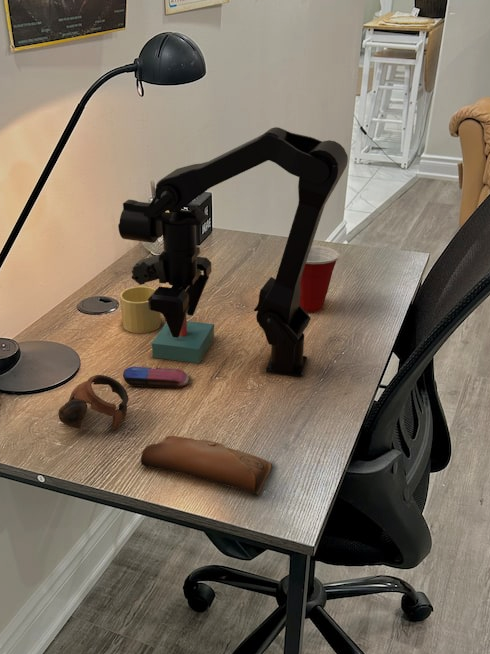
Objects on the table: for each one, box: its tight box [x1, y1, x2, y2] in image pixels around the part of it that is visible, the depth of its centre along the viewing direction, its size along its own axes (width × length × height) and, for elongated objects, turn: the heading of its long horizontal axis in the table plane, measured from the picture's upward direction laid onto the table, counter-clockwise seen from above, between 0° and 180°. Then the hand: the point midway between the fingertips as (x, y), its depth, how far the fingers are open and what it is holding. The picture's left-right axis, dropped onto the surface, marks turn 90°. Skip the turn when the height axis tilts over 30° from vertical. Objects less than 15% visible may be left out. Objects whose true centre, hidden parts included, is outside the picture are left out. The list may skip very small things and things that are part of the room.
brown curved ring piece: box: [57, 374, 129, 430], centre depth 114 cm, size 12×10×8 cm
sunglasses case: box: [140, 435, 273, 495], centre depth 105 cm, size 18×7×7 cm
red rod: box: [180, 316, 188, 336], centre depth 133 cm, size 1×1×9 cm
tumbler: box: [119, 285, 162, 334], centre depth 142 cm, size 8×8×6 cm
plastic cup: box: [299, 245, 341, 313], centre depth 146 cm, size 11×11×12 cm
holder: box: [151, 320, 215, 364], centre depth 135 cm, size 10×9×3 cm
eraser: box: [122, 366, 190, 389], centre depth 125 cm, size 11×4×2 cm, turn 85°
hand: (183, 325), depth 133 cm, fingers open, 9 cm apart
